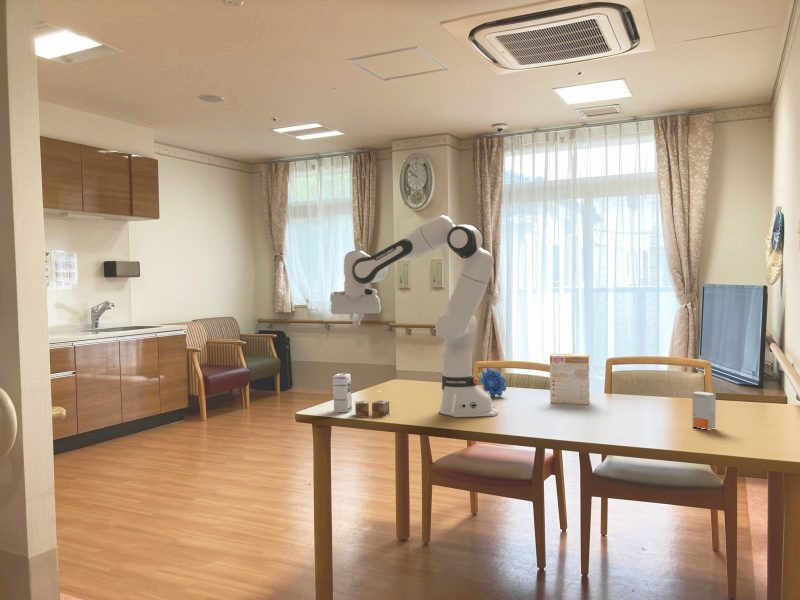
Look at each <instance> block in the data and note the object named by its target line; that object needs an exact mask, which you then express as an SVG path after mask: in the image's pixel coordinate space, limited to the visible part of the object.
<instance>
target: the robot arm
mask: <svg viewBox="0 0 800 600" xmlns="http://www.w3.org/2000/svg"><path fill="white" fill-rule="evenodd" d="M484 244H485V236H484V233H482V231H481V230H480V229H479V228H478V227H476V226H473V225H470V224H455V223H454V222H453V220H452V219H451V218H450V217H449V216H446V215H440V216H437V217H434V218H432V219H429V220H428V221H425V222H424V223H422V224H421V225H419V226H417V227H416V228H415V229H413V230H412V231H411V232H410V231H409V233H407V234H406V235H405V236H404V237H402V238H400V239H399V240H397V241H396V242H394V243H393V244H391V245H389V246H387V247H386V248H384V249H382V250H380V251H378V252H376V253H375V254H373V255H369V254H367V253H366V252H365V251H363V250H359V249H357V250H352V251H349V252H347V253H346V254H345V255H344V259H343V275H344V283H343V289H344V291H341V290H339V291H333V292H332V293H330V299H329V300H330V303H331V304H330V313H331V314H332V315H349V319H350V320H351V321H352V326H361V321H362V318H363V317H364V314H366V315H368V314H380V313H381V311H382V305H381V300H380V299H381V298H380V296H378V290H377V289H376V288H373V287H369V286H367V284H369V283H379V282H383V281H384V280H385V279H387V277H388V274H389V266H391V265H392V264H394V263H396V262H399V261H401V260H405V259H410V258H411V259H412V258H420V257H423V256H426V255H429V254H431V253H432V252H435V251H437V250H438V249H439V248H441V247H443V246H445V245H447V246H448V247H449V248H450V250H452V251H453V252H454V253H456V255H457V256H459V257H460V258H462V259H463V260H464V261H463V266H462V269H461V272H460V274H459V277H458V279H457V281H456V282H457V283H456V284H455V287H454V290H453V292H452V294H451V296H450V298H449V300H448V301H447V303H446V304H445V307H444V309H443V310H442V312H441V314H440V316H439V317H438V318H437V320H436V322H435V332H436V334H437V336H438V337H439V338H441V340H445V347H444V351H443V353H442V376H441V391H442V392H441V393H442V395H441V402H440V405H439V406H440V407H439V410H438V412H439V413H440V414H441V415H446V416H451V417H452V418H453V417H454V418H468V417H469V418H471V417H495V416H497V415H498V414H499V409H498V407H496V406H495V405H493V400H492V398H491V397H492V396H491V395H490V394H489V392H486V391H484V389H483V388H482V387H480V386H479V385H478V383H479V379H478V377H476V376H474V375H473V373H472V370H473V369H472V367H473V366H472V364H473V363H472V362H473V361H472V357H473V355H472V354H473V347H474V341H475V334H476V333H475V332H476V328H477V325H478V324H477V323H478V322H477V318H476V316H475V315H474V314H475V312H476V310H477V309H478V307H479V305H481V303H482V302H483V301H482V300H483V298H484V295H485V292H486V290H487V287H488V285H489V282H490V279H491V276H492V272H493V268H494V264H495V263H494V262H495V259H494V256H493V254H491V253H490V252H489V251H487V250H485V249H484V248H483V246H484ZM355 315H357V316H358V317H359V318H358V320H355V319H354V316H355Z"/></svg>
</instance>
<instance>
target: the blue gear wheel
mask: <svg viewBox="0 0 800 600" xmlns="http://www.w3.org/2000/svg"><path fill="white" fill-rule="evenodd" d="M481 376H482V377H480V380H479V382H480V384H482V385H483V386H482V389H483V390H484V391H485V392H486V393H488V394H489V395H490V397H495V396H496V395H497V396H498V397H500V396H502V395H503V392H506V390H507V385H505V384H506V378H505V377H503V376H502V375H501V372H500V371H499V370H493V369H492V368H488V369H487V370H486V371H485V370H483V371H482V372H481Z"/></svg>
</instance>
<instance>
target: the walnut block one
mask: <svg viewBox="0 0 800 600" xmlns="http://www.w3.org/2000/svg"><path fill="white" fill-rule="evenodd" d="M354 403H355V404H354V405H355V406H354V407H355V417H356V416H369V417H370V407H369V405H370V404H369V401H368V400H356V401H355V402H354Z"/></svg>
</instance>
